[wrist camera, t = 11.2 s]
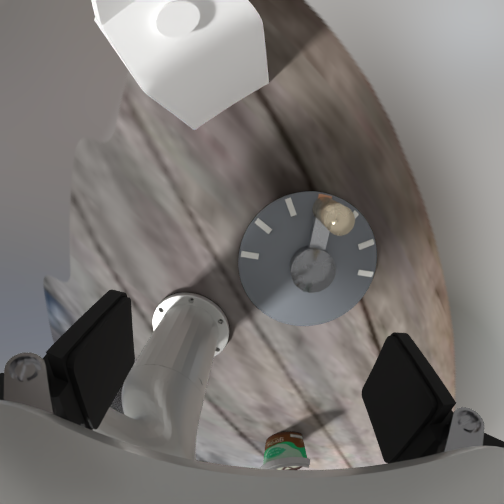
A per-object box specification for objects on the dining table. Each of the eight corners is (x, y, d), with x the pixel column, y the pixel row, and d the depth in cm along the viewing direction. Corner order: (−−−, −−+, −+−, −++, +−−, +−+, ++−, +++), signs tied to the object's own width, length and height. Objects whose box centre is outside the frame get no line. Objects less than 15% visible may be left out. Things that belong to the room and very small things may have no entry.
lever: (326, 288, 39) (339, 316, 32) (285, 282, 39) (290, 310, 32) (348, 201, 36) (369, 212, 28) (304, 192, 35) (316, 199, 28)
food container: (285, 421, 51) (288, 459, 41) (306, 430, 52) (311, 466, 42) (249, 444, 54) (247, 479, 44) (269, 452, 55) (269, 486, 45)
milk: (223, 27, 30) (180, -99, 5) (269, 82, 33) (279, -40, 8) (153, 72, 33) (37, -5, 8) (194, 130, 35) (82, 81, 10)
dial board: (352, 327, 43) (355, 332, 42) (230, 312, 43) (229, 316, 42) (387, 207, 37) (391, 208, 36) (250, 179, 37) (250, 179, 36)
